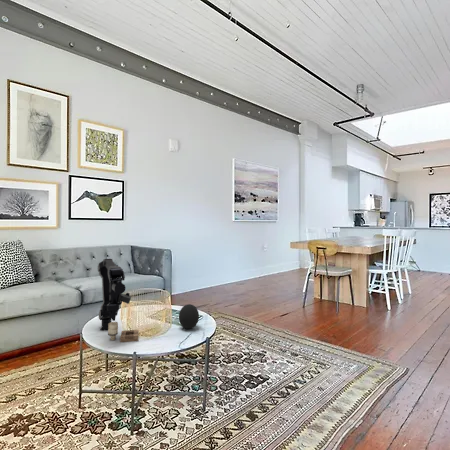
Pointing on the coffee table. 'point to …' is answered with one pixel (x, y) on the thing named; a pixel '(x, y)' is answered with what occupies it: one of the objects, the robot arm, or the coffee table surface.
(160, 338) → the coffee table surface
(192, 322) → the decorative egg
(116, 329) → the peg
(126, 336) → the brown square frame
